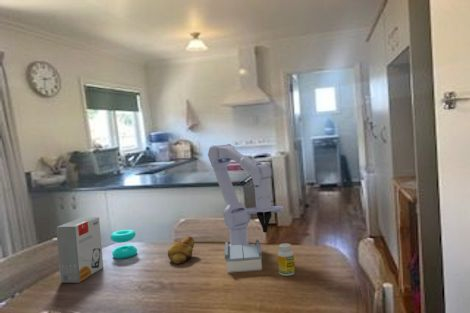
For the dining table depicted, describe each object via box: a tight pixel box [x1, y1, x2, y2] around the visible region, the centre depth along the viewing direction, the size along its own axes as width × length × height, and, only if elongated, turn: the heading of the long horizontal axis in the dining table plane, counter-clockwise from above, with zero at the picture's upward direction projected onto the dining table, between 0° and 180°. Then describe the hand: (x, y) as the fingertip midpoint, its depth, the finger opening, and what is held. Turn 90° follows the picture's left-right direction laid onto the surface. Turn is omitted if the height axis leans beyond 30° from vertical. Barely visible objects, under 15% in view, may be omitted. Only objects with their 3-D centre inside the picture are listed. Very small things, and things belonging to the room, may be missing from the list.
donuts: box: [110, 229, 138, 260], centre depth 155 cm, size 10×10×10 cm
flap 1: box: [224, 241, 243, 262], centre depth 135 cm, size 15×6×2 cm, turn 1°
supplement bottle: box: [277, 242, 296, 277], centre depth 124 cm, size 5×5×10 cm
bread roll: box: [166, 236, 195, 265], centre depth 145 cm, size 13×10×8 cm
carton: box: [225, 248, 263, 274], centre depth 135 cm, size 14×12×4 cm
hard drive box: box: [55, 216, 104, 284], centre depth 136 cm, size 16×8×20 cm, turn 168°
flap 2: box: [242, 239, 263, 260], centre depth 135 cm, size 15×6×2 cm, turn 1°
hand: (265, 231), depth 141 cm, fingers closed
